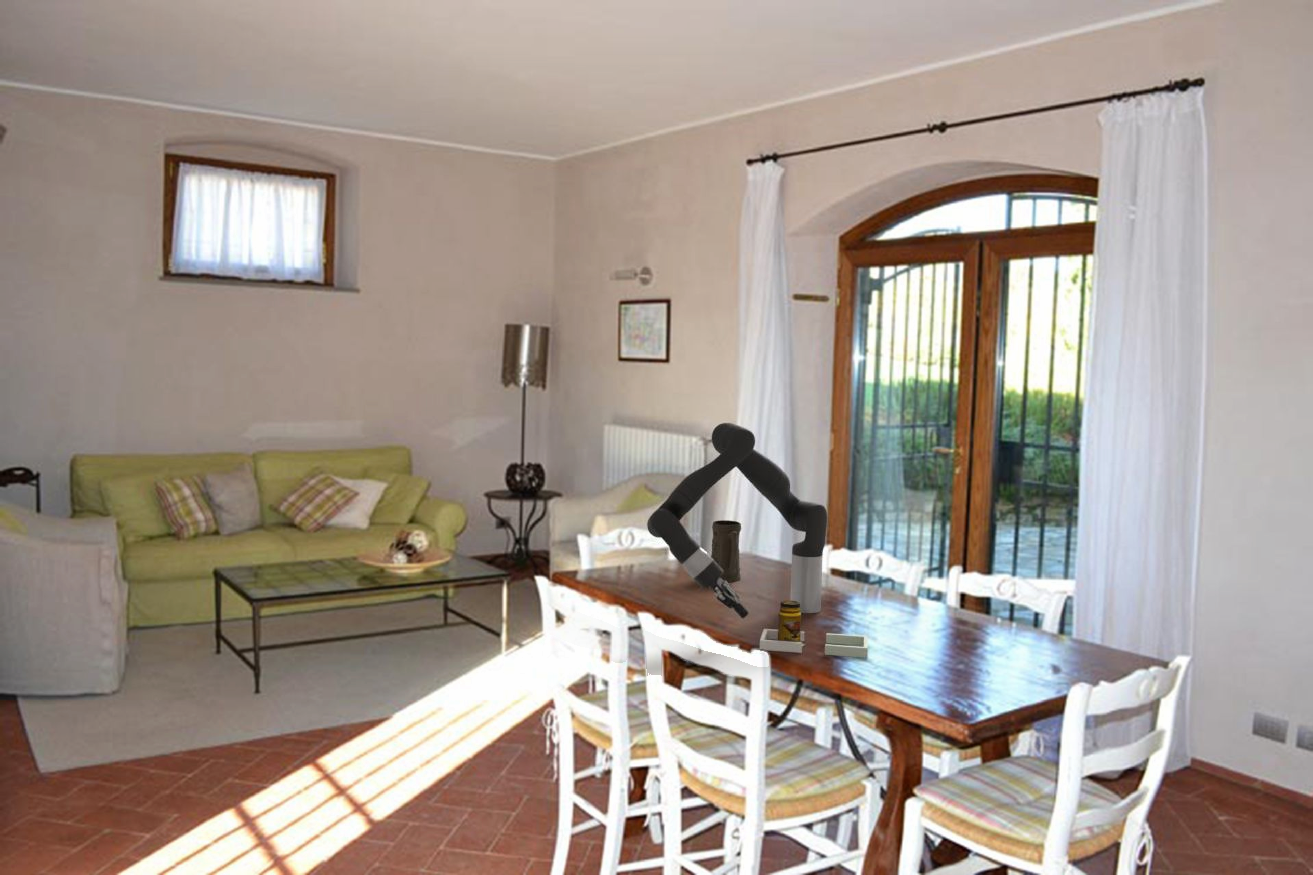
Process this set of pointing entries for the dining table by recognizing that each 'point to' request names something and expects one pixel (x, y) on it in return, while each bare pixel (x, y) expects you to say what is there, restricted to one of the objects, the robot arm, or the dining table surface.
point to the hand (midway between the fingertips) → (746, 615)
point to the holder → (779, 642)
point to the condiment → (789, 622)
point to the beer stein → (726, 548)
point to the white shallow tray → (846, 650)
